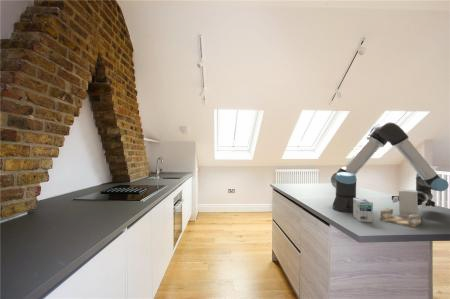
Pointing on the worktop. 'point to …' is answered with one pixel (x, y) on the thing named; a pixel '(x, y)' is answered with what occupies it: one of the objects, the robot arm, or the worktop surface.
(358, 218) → the light bulb box
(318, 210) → the worktop surface
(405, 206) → the skincare box
